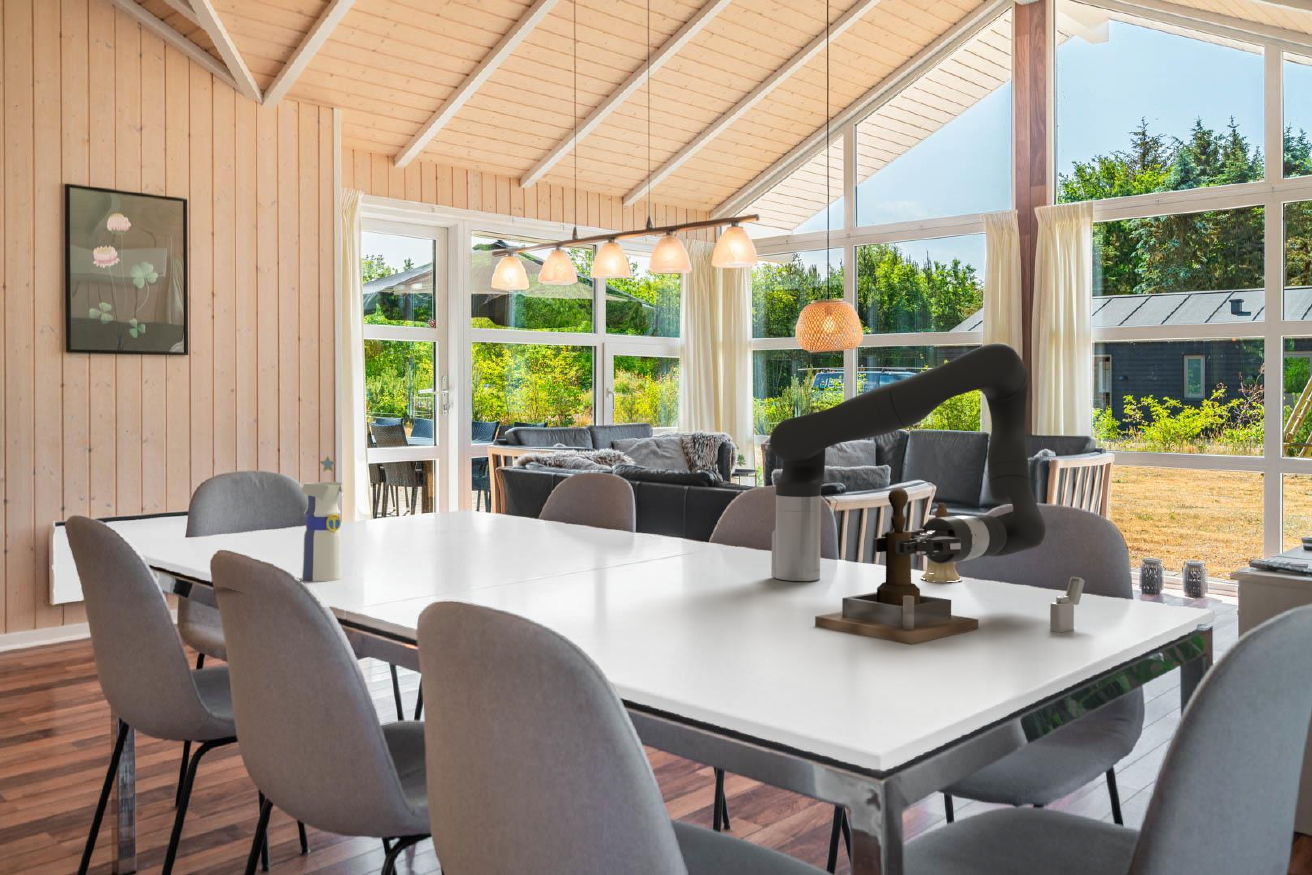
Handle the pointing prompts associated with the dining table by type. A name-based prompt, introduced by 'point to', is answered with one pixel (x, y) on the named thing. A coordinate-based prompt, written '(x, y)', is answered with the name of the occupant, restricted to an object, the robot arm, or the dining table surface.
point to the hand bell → (946, 569)
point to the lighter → (1066, 606)
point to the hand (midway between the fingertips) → (886, 546)
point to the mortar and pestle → (897, 557)
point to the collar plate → (897, 619)
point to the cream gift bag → (322, 530)
